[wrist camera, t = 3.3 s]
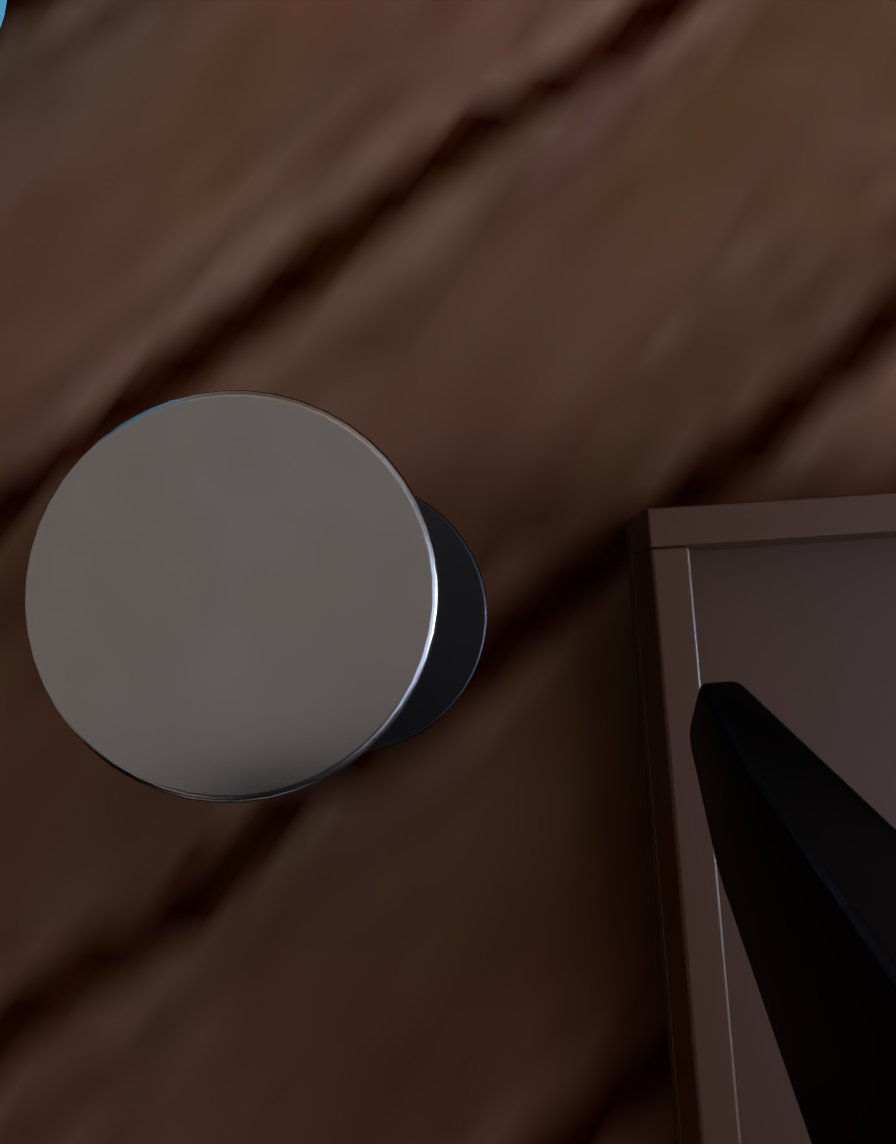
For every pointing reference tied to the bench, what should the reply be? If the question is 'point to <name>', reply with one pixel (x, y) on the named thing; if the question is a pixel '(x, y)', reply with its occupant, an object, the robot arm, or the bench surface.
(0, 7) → the tube
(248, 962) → the bench surface
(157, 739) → the dark cylinder
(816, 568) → the tray
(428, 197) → the bench surface
